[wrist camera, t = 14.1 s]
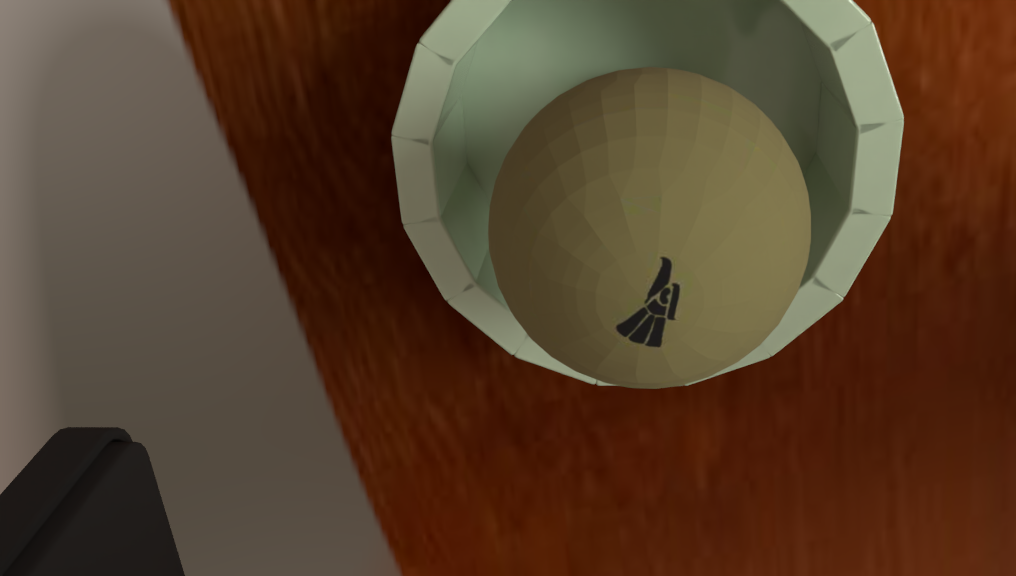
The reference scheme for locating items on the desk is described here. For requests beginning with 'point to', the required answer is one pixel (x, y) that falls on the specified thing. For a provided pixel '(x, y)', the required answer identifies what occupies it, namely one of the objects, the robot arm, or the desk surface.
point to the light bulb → (649, 227)
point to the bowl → (627, 45)
